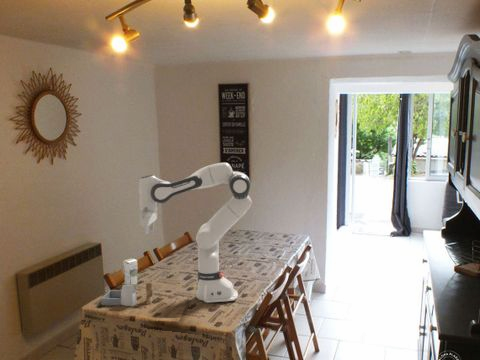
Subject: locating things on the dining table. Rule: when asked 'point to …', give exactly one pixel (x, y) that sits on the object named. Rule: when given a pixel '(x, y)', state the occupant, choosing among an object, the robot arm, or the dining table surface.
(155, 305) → the dining table surface
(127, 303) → the white rectangular block
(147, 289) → the scraper
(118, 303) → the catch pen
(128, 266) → the syrup box
